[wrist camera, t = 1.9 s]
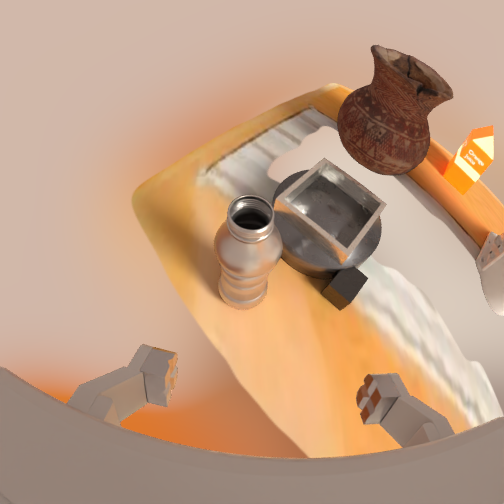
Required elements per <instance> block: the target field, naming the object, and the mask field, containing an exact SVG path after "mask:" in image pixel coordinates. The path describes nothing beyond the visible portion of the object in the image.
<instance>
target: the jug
mask: <svg viewBox="0 0 504 504" xmlns="http://www.w3.org/2000/svg"><path fill="white" fill-rule="evenodd" d="M371 52H372V54H373V57H374V64H375V70H374V77H373V80H372V83H371V84H370V85H367V86H364V87H362V88H359V89H357V90H355V91H354V92H352V93H351V94H350V95H348V96H347V98H346V99H345V100H344V102H343V104H342V106H341V108H340V111H339V114H338V123H337V125H338V132H339V136H340V139H341V142H342V144H343V146H344V147H345V149H346V150H347V152H348V153H349V154H350V155H351V157H352V158H353V159H355V160H356V161H357V162H358V163H359V164H361V165H363V166H364V167H365V168H367V169H369V170H371V171H373V172H375V173H378V174H382V175H401V174H405V173H407V172H409V171H411V170H412V169H414V168H415V167H416V166H417V165H418V164H420V163H421V162H422V161H423V160H424V158H425V156H426V154H427V152H428V149H429V145H430V132H429V126H428V120H427V116H428V114H429V113H430V112H431V111H432V109H433V108H435V107H436V106H438V105H439V104H441V103H443V102H444V101H447V100H450V99H452V98H453V92H452V89H451V87H450V86H449V85H448V84H447V82H446V81H445V80H444V79H443V78H442V77H440V75H439V74H438V73H437V72H436V71H435V70H433V69H432V68H431V67H429V66H428V65H426V64H425V63H423V62H421V61H419V60H418V59H416V58H415V57H413V56H410V55H406V54H403V53H401V52H398V51H396V50H393V49H387V48H386V49H385V48H384V47H381V46H379V45H373V46H372V47H371Z"/></svg>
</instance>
